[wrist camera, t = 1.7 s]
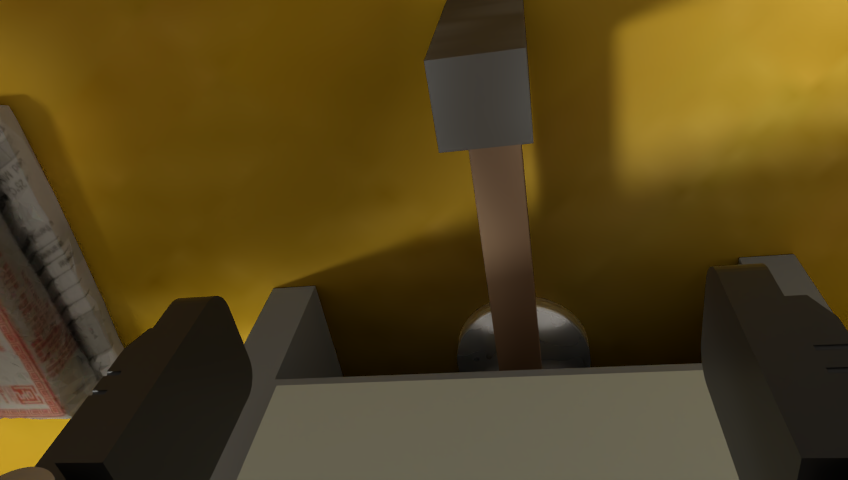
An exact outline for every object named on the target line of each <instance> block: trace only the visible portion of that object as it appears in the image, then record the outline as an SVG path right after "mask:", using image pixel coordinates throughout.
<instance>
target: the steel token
mask: <svg viewBox="0 0 848 480" xmlns="http://www.w3.org/2000/svg"><path fill="white" fill-rule="evenodd" d="M536 307H537V318H538V329H539V340H540V351H541V362H542V369H564V368H590V364H591V357H590V350H589V343H588V337H587V334H586V331H585V329H584V327H583V325H582V323H581V322H580V321H579V319H578V318H577V317H576V316H575V315H574V314H573V313H572V312H570V311H569V310H568V309H567V308H565V307H563V306H562V305H560V304H558V303H555V302H553V301H551V300H547V299H544V298H540V297H536ZM457 364H458V368H459V371H460V372H485V371H499V366H498V359H497V352H496V344H495V337H494V330H493V323H492V315H491V308H490V302H489V303H487V304H485V305H483V306H482V307H480V308H479V309H477V310H476V311H475V312H474V313H472V314H471V315H470V317H469V318H468V319H467V320H466V322H465V323H464V325H463V327H462V329H461V332H460V335H459V342H458V352H457Z"/></svg>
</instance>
